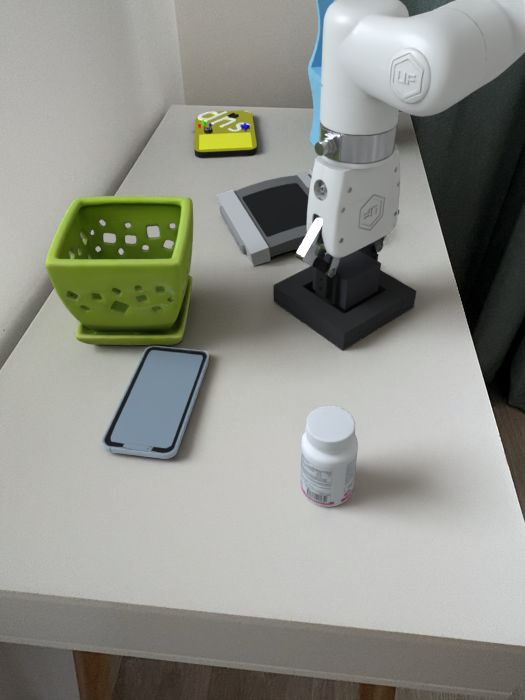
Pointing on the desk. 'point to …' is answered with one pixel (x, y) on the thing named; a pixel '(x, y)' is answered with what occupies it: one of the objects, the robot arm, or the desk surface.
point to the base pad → (334, 319)
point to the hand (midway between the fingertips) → (345, 286)
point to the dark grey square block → (355, 278)
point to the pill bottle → (328, 456)
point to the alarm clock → (268, 215)
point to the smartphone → (157, 403)
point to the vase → (317, 70)
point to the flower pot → (125, 269)
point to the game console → (224, 134)
